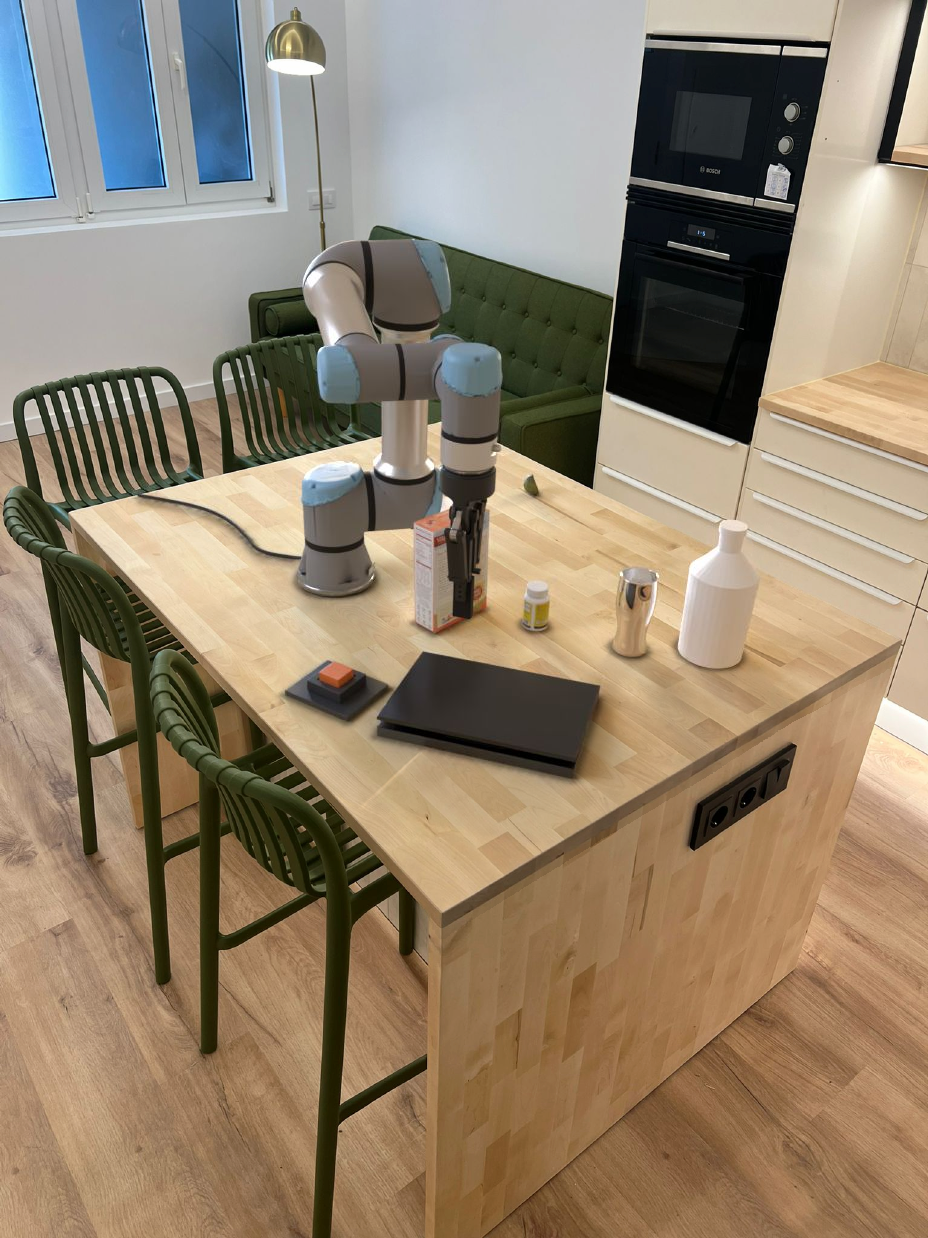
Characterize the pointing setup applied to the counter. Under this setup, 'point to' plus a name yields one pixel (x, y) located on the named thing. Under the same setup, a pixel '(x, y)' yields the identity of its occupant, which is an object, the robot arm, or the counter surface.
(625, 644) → the beer glass
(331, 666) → the key
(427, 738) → the laptop
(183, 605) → the counter surface
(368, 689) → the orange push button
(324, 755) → the counter surface
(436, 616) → the cracker box
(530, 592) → the supplement bottle
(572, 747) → the laptop screen
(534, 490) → the lime
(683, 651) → the bottle
